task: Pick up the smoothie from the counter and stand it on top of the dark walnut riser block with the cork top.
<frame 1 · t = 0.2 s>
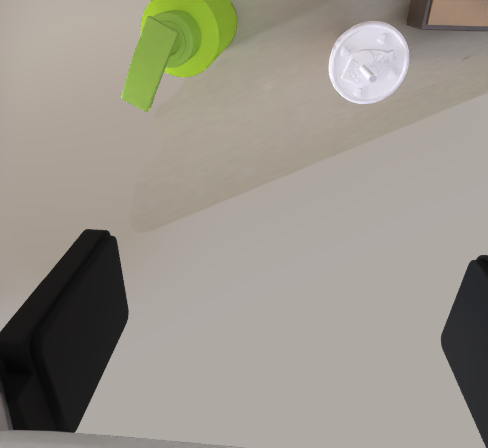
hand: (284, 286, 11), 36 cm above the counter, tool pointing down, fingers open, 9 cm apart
smoothie: (351, 49, 41), on the counter
soap dispenser: (206, 26, 41), on the counter
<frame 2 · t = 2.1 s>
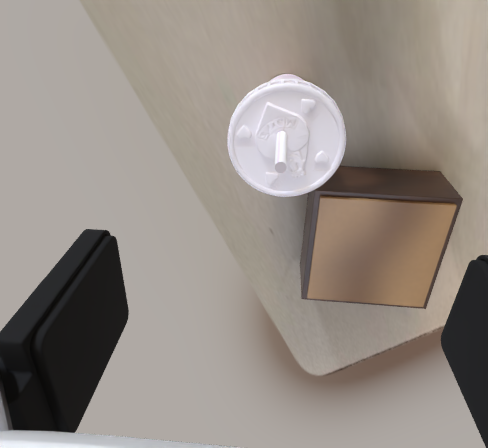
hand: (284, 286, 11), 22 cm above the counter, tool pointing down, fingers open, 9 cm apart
smoothie: (286, 99, 30), on the counter
riser: (364, 222, 34), on the counter
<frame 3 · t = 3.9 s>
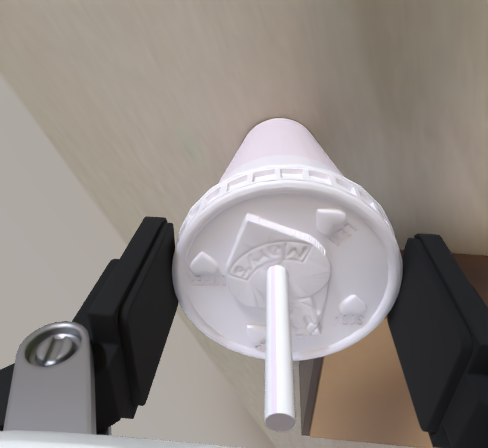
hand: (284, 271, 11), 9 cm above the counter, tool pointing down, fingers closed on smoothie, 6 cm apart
smoothie: (278, 154, 19), on the counter, touching gripper
riser: (390, 319, 24), on the counter
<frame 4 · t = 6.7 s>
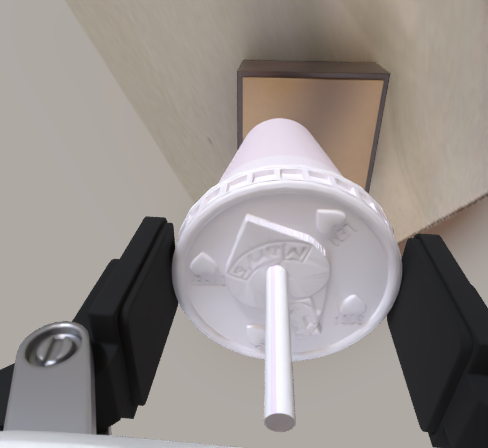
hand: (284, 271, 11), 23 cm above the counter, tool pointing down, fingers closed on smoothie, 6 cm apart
smoothie: (278, 154, 19), point 14 cm above the counter, touching gripper
riser: (303, 125, 33), on the counter
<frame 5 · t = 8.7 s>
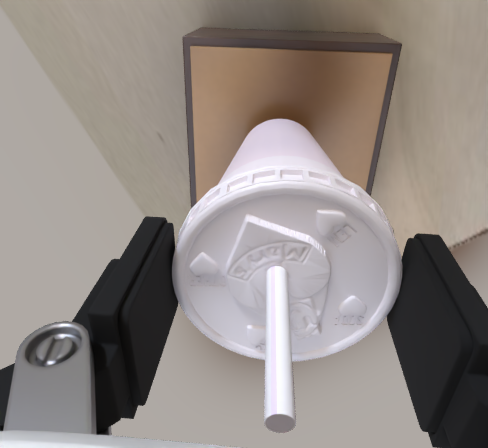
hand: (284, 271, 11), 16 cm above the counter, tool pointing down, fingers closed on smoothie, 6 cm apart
smoothie: (278, 155, 19), point 6 cm above the counter, touching gripper
riser: (282, 119, 25), on the counter
when the fingers open (14 cm above the counter, at t = 9.7 s): smoothie stays where it is, resting on riser.
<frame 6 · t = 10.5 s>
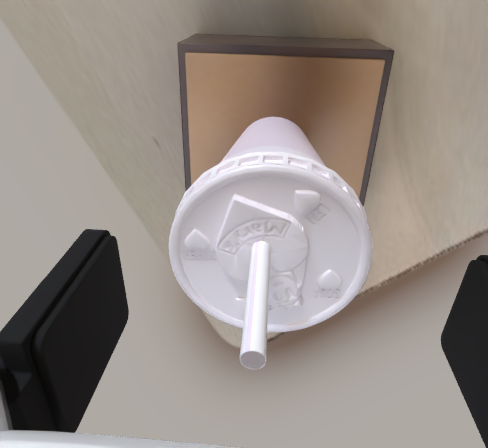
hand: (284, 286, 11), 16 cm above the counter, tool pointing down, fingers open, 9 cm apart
smoothie: (273, 151, 21), point 5 cm above the counter, touching riser
riser: (277, 124, 25), on the counter
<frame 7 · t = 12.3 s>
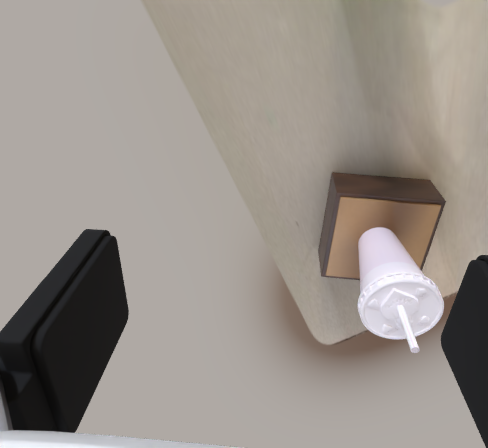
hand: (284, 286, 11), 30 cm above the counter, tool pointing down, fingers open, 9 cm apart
smoothie: (377, 242, 39), point 5 cm above the counter, touching riser
riser: (370, 218, 44), on the counter
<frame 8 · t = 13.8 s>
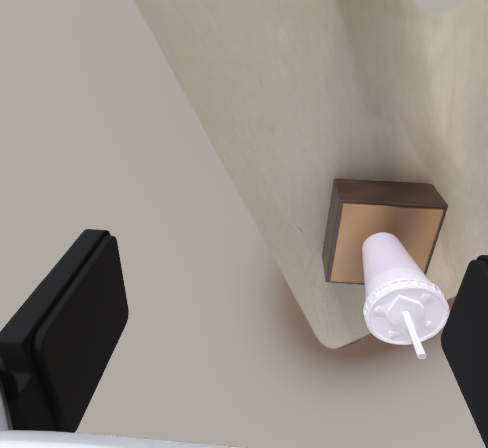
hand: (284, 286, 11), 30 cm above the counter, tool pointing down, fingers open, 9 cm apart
smoothie: (380, 247, 40), point 5 cm above the counter, touching riser
riser: (373, 222, 44), on the counter
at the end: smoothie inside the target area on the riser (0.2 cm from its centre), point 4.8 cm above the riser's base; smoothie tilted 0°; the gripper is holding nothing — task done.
